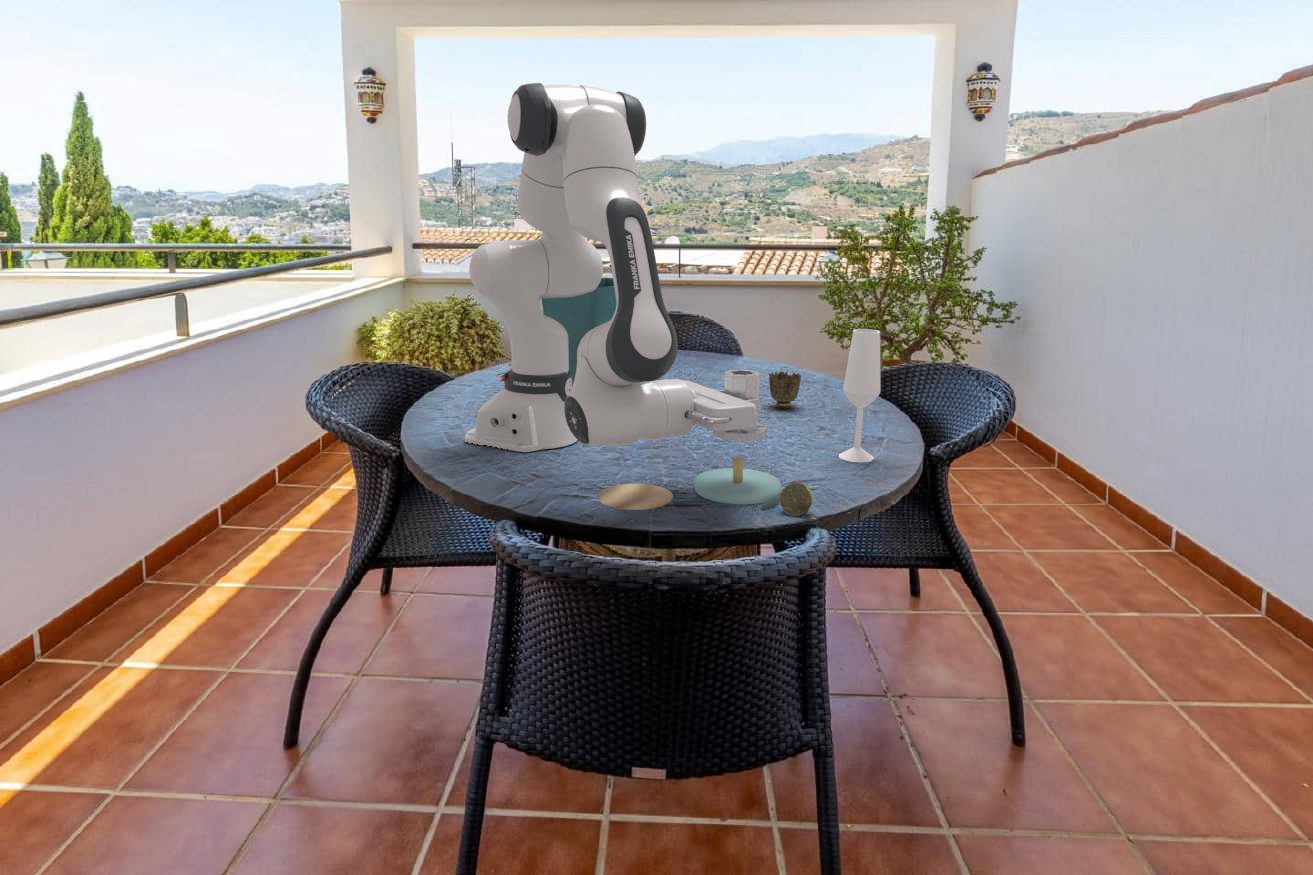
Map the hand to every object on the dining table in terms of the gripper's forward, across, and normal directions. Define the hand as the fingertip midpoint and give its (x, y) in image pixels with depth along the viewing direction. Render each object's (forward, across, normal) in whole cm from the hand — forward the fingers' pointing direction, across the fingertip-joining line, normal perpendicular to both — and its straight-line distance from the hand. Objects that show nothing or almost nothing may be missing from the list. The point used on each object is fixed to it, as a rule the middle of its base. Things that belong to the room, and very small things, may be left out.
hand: (745, 399), depth 131 cm
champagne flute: (+32, +8, +16) cm, 36 cm away
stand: (-17, +5, +16) cm, 24 cm away
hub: (-1, 0, +16) cm, 16 cm away
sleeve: (-1, 0, +6) cm, 6 cm away
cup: (+43, +46, +16) cm, 65 cm away
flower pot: (+7, +70, +16) cm, 72 cm away
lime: (+3, -10, +16) cm, 20 cm away
